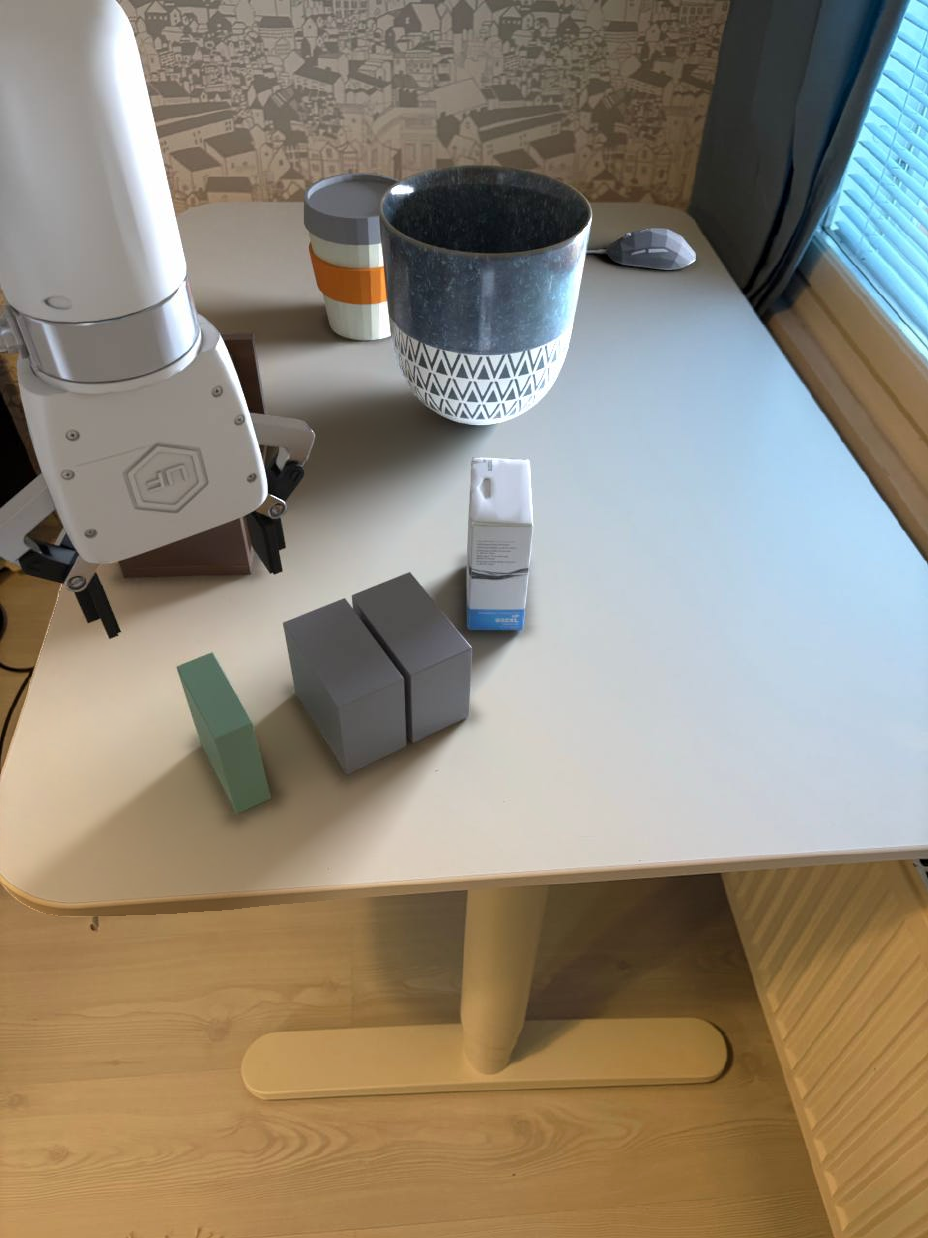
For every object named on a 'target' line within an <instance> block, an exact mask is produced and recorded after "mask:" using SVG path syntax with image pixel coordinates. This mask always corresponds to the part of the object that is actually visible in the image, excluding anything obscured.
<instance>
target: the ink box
mask: <svg viewBox="0 0 928 1238" xmlns="http://www.w3.org/2000/svg"><path fill="white" fill-rule="evenodd" d="M531 479H532V478H531V464H530V460H529V459H526V458H525V459H524V458H501V457H477V456H472V459H471V461H470V482H469V483H470V485H469V501H468V517H467V518H468V519H467V541H466V628H467V630H469V631H522V630H523V629H524V622H525V613H526V604H527V603H526V602H527V594H528V593H527V592H528V582H529V572H530V561H531V554H532V543H533V532H534V519H533V518H534V517H533V502H532V501H533V500H532V498H533V497H532V483H531V482H532V481H531Z"/></svg>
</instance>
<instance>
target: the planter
mask: <svg viewBox="0 0 928 1238" xmlns="http://www.w3.org/2000/svg"><path fill="white" fill-rule="evenodd" d="M399 180H400V181H398V182H396V183H395V184H393V185H392V186H391V187H389V188H388V189H387V190H386V191H385V192H384V194H383V195H382V197H381V199H380V201H379V205H378V212H379V227H380V239H381V248H382V257H383V266H384V278H385V289H386V299H387V308H388V317H389V327H390V341H391V346H392V350H393V354H394V357H395V361H396V364H397V366H398V369H399V372H400V374H401V376H402V378H403V380H404V382H405V384H406V385H407V387H408V388H409V389H410V391H411V392H412V394H413V395H414V396H415V397H416V398H417V399H418V400H419V401H420V402H421V403H422V404H423V405H425V406H426V407H427V408H428V409H429V410H431V411H433V412H434V413H436V414H437V415H439V416H441V417H442V418H445V419H448V420H450V421H453V422H456V423H459V424H463V425H464V424H465V425H469V426H488V425H496V424H500V423H503V422H507V421H509V420H512V419H514V418H517V417H519V416H521V415H522V414H524V413H526V412H527V411H528V410H530V409H531V408H532V407H534V406H536V405H537V404H538V403H539V402H540V401H541V400H542V399H543V398H544V397H545V396H546V395H547V393H548V392H549V390H550V389H551V388H552V386H553V385H554V383H555V382H556V380H557V377H558V375H559V374H560V371H561V369H562V367H563V364H564V362H565V358H566V356H567V353H568V349H569V345H570V342H571V338H572V337H571V336H572V330H573V327H574V325H573V324H574V321H575V316H576V310H577V306H578V301H579V295H580V294H579V293H580V290H581V289H580V287H581V284H582V283H581V282H582V277H583V272H584V265H585V260H586V256H587V253H586V251H587V250H588V245H589V239H590V233H591V227H592V220H593V211H592V210H593V209H592V207H591V204H590V202H589V200H588V199H587V198H586V197H585V196H584V195H583V194H582V193H581V192H580V191H579V190H578V189H576V188H575V187H573V186H571V185H570V184H568V183H566V182H564V181H562V180H560V179H557V178H555V177H552V176H549V175H547V174H543V173H540V172H537V171H533V170H528V169H523V168H518V167H511V166H504V165H493V164H492V165H489V164H464V165H452V166H444V167H437V168H431V169H428V170H424V171H421V172H417V173H414V174H411V175H408V176H406V177H404V178H402V179H399Z"/></svg>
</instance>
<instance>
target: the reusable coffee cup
mask: <svg viewBox="0 0 928 1238" xmlns="http://www.w3.org/2000/svg"><path fill="white" fill-rule="evenodd" d="M400 180H401V179H398V178H394V177H393V176H388V175H385V174H384V175H383V174H378V173H368V172H367V173H366V172H351V173H350V172H349V173H341V174H336V175H330V176H328V177H324V178H321V179H319V180H317V181H314V183H311V184H310V185H309V186H308V187H307V188H306V189H305V190H304V193H303V225H304V227H305V229H306V230H307V232H308V235H309V240H310V241H309V243H308V252H309V257H310V262H311V265H312V269H313V273H314V277H315V282H316V283H315V284H316V286H317V288H318V290H319V291H320V293H321V294H322V297H323V301H324V306H325V311H326V315H327V319H328V323H329V327H330V328H331V330H332V331H333V332H334V333H335V334H337V335H338V336H341V337H343V338H346V339H349V340H354V341H355V340H356V341H377V340H381V339H385V338H388V337H391V335H390V327H389V317H388V308H387V299H386V289H385V278H384V266H383V257H382V248H381V239H380V227H379V212H378V205H379V201H380V199H381V197H382V195H383V194H384V192H385V191H386V190H387V189H388V188H389V187H391V186H392V185H393V184H395V183H396V182H398V181H400Z"/></svg>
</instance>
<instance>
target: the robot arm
mask: <svg viewBox="0 0 928 1238" xmlns="http://www.w3.org/2000/svg"><path fill="white" fill-rule="evenodd" d="M165 168H166V167H165V163H164V159H163V155H162V150H161V145H160V141H159V136H158V133H157V128H156V124H155V118H154V114H153V110H152V104H151V101H150V97H149V91H148V87H147V83H146V78H145V73H144V69H143V65H142V59H141V56H140V52H139V47H138V44H137V40H136V37H135V34H134V30H133V27H132V25H131V22H130V20H129V17H128V16H127V14H126V13H125V11H124V9H123V7H122V6H121V5H120V3H119V2H118V1H117V0H0V288H1V290H0V292H1V294H2V297H3V299H4V302H5V305H0V310H1V313H2V314H0V354H3V353H4V354H5V353H8V354H9V355H12V354H13V355H14V354H17V353H19V354H18V357H17V360H16V373H17V382H18V388H19V394H20V400H21V404H22V407H23V411H24V416H25V420H26V421H25V422H26V425H27V430H28V434H29V437H30V440H31V443H32V447H33V450H34V453H35V457H36V460H37V462H38V466H39V469H40V471H41V472H40V474H38V475H37V476H36V477H35V478H34V479H33V480H31V481H30V482H29V483H28V484H27V485H26V486H24V487H23V489H21V490H20V491H19V492H18V493H16V494H15V495H14V496H13V497H12V498H11V499H9V500H8V501H7V502H6V503H5V504H3V505H2V506H1V507H0V558H2V559H3V560H5V561H7V562H8V563H10V564H12V565H16V566H17V567H19V568H20V569H21V570H22V572H23V573H24V574H25V575H28V576H31V577H34V578H39V579H42V580H46V581H50V582H54V583H58V584H62V585H64V587H65V589H66V590H67V591H68V592H71V593H73V594H74V596H75V599H76V601H77V603H78V605H79V608H80V610H81V612H82V614H83V617H84V619H85V621H86V622H87V624H90V623H93V622H97V621H99V620H100V623H101V624H102V626H103V628H104V630H105V633H106V634H107V637H108V639H109V640H111V639H114V638H116V637H119V634H120V633H122V630H121V628H120V625H119V623H118V620H117V617H116V615H115V612H114V610H113V608H112V605H111V602H110V600H109V598H108V595H107V592H106V590H105V588H104V585H103V583H102V581H101V579H100V577H99V575H98V573H97V570H98V568H99V566H100V565H105V564H113V563H118V561H121V560H124V559H127V558H130V557H133V556H136V555H139V554H142V553H145V552H148V551H150V550H153V549H156V548H159V547H162V546H164V545H167V544H170V543H173V542H175V541H178V540H181V539H184V538H186V537H189V536H192V535H195V534H198V533H200V532H203V531H206V530H209V529H211V528H214V527H217V526H220V525H222V524H225V523H228V522H230V521H233V520H236V519H238V518H241V517H243V516H245V518H246V522H247V527H248V531H249V536H250V541H251V545H252V547H253V549H254V553H255V554H256V555H257V557H258V558H259V560H260V561H261V563H262V564H263V565H264V567H265V569H266V570H267V572H268V573H269V574H270V575H272V574H273V575H274V576H275V575H277V574H280V573H283V571H284V570H283V564H282V563H283V562H282V558H281V554H280V553H281V552H280V551H282V550H285V549H286V548H287V545H286V544H287V543H286V539H285V533H284V528H283V527H284V526H283V522H282V517H284V516H285V514H286V513H287V511H288V505H287V503H286V502H287V501H288V499H289V498H290V496H291V495H292V494H293V492H294V491H295V490H296V488H297V487H298V485H299V484H300V483H301V481H302V480H303V478H304V476H305V469H304V466H305V463H308V459H309V457H310V454H311V451H312V448H313V446H314V443H315V441H316V433H315V432H314V431H313V430H312V428H311V427H310V425H308V423H307V422H306V421H305V420H303V419H301V418H294V417H293V418H292V417H285V416H278V415H273V414H266V415H265V414H257V413H250V412H249V411H248V407H247V404H246V401H245V398H244V395H243V392H242V389H241V386H240V383H239V379H238V376H237V374H236V371H235V368H234V366H233V363H232V361H231V358H230V356H229V353H228V350H227V348H226V346H225V344H224V341H223V339H222V337H221V335H220V334H221V333H220V331H219V330H218V328H217V327H216V326H215V325H213V323H211V322H210V321H209V320H208V319H207V318H206V317H205V316H203V315H202V314H200V313H199V312H197V309H196V303H195V299H194V293H193V290H192V286H191V281H190V276H189V272H188V267H187V263H186V259H185V258H186V257H185V254H184V250H183V245H182V240H181V235H180V231H179V227H178V222H177V218H176V214H175V209H174V204H173V199H172V194H171V190H170V187H169V181H168V177H167V173H166V169H165ZM258 445H266V446H267V447H277V448H278V450H279V451H278V452H277V453H275V455H274V456H273V457H272V459H271V460H270V462H269V463H268V464H267V466H266V467H264V465H263V461H262V457H261V453H260V449H259V446H258ZM54 511H56V513H57V515H58V517H59V520H60V522H61V524H62V526H63V527H62V529H61V531H60V533H59V535H58V537H57V539H56V541H55V542H54V543H50V542H48V541H43V540H40V539H37V538H33V537H28V536H27V535H28V534H29V533H30V532H31V531H33V529H35V528H36V527H37V526H38V525H39V524H41V523H42V522H43V521H44V520H45V519H46V518H48V516H50V515H51V514H52V513H53V512H54Z"/></svg>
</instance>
